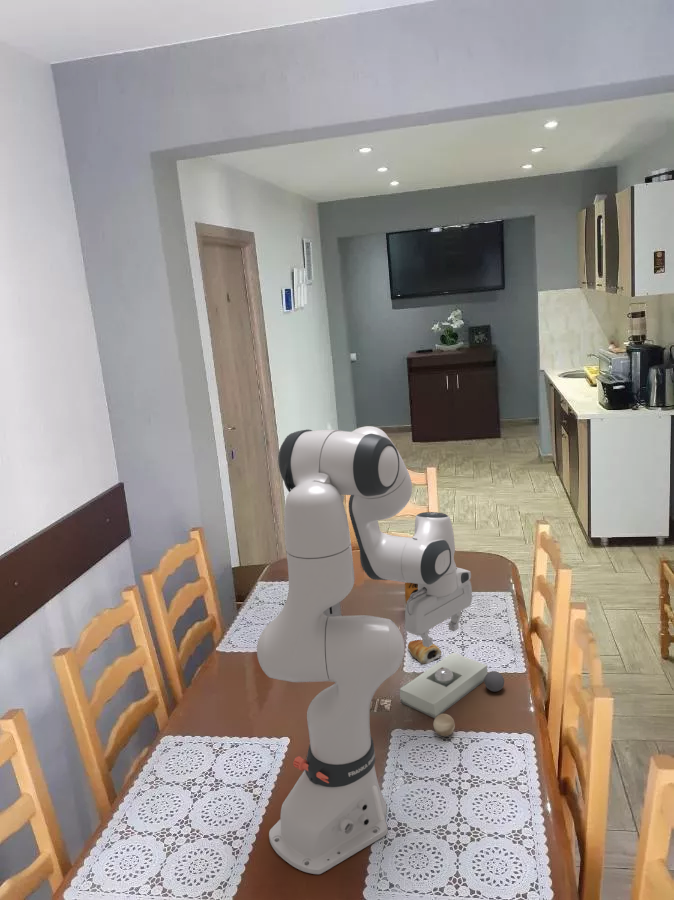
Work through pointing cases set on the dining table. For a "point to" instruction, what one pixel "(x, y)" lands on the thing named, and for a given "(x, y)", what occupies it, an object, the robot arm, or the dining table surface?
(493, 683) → the rubber ball
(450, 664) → the pocket board
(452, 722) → the ash ball
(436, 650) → the pastry
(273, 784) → the dining table surface
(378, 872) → the dining table surface
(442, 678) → the steel ball
